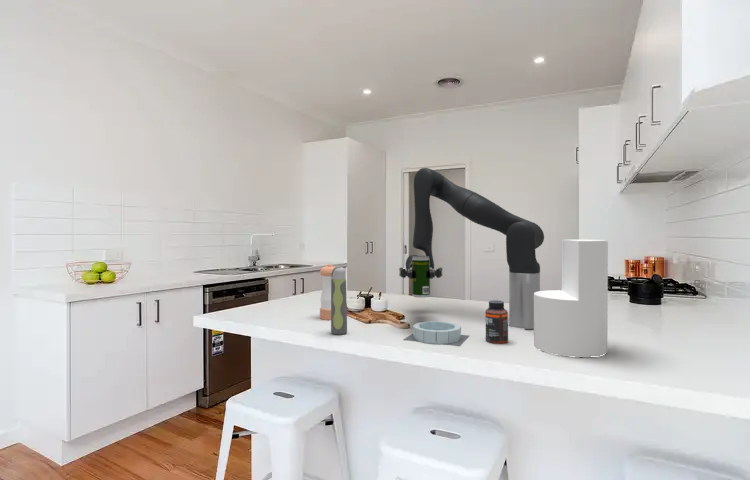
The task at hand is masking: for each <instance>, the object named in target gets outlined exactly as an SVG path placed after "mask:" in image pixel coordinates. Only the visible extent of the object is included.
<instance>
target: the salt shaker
mask: <svg viewBox="0 0 750 480" xmlns="http://www.w3.org/2000/svg"><path fill="white" fill-rule="evenodd" d="M335 267H336V266H333V265H332V264H331V263H328V264H327V265H326V266H323V267H321V269H320V270H319V274H320V275H321V278H322V279H321V280H322V282H321V286H322V287H321V293H320V307H319V317H320V320H323V321H331V279H332V276H331V274H332V271H333V269H334V268H335Z"/></svg>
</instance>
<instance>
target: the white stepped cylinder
mask: <svg viewBox="0 0 750 480" xmlns="http://www.w3.org/2000/svg"><path fill="white" fill-rule="evenodd" d="M608 259H609V241H608V240H607V239H561V290H560V289H557V290H556V289H555V290H554V289H553V290H552V289H551V290H550V289H549V290H540V291H538V292H535V293H534V329H533V347H534V346H535V347H536V348H537V349H536V348H535V347H534V348H535V349H536V350H538V349H540V350H542V351H546V352H549V353H553V354H558V355H565V356H575V357H591V356H600V355H603V354H605V353H607V354H608V327H609V326H608V325H609V323H608V316H609V314H608V310H609V309H608V305H609V304H608V302H609V301H608V300H609V299H608V297H609V296H608V293H609V292H608V288H609V287H608V285H609V284H608V283H609V281H608V280H609V269H608V267H609V263H608V262H609V260H608ZM540 350H539V351H540ZM542 351H541V352H542Z"/></svg>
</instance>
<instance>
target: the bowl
mask: <svg viewBox="0 0 750 480" xmlns="http://www.w3.org/2000/svg"><path fill="white" fill-rule="evenodd" d="M412 328H413V329H412V332H413V333H412V334H413V337H414V339H415V340H417V341H420V342H419V343H422V344H423V343H424V344H432V345H443V344H448V343H449V344H450V343H454V342H458V341H459V340H460V339H461V335H462V326H460V324H457V323H455V322H452V321H441V320H429V321H421V322H417V323H415V324H413V325H412Z"/></svg>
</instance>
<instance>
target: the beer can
mask: <svg viewBox="0 0 750 480" xmlns="http://www.w3.org/2000/svg"><path fill="white" fill-rule="evenodd" d="M411 294H412V297H414V298H429V297H430V295H431V279H430V259H429V256H426V255H417V256H413V258H412V279H411Z"/></svg>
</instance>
